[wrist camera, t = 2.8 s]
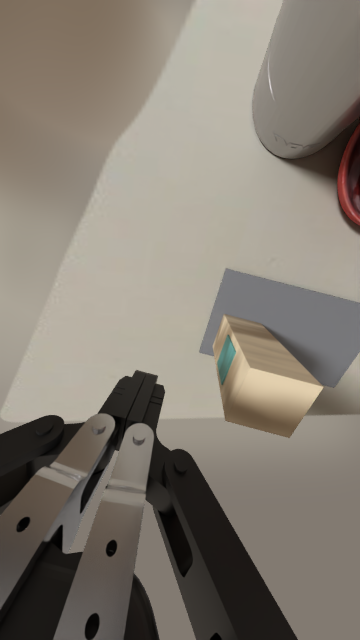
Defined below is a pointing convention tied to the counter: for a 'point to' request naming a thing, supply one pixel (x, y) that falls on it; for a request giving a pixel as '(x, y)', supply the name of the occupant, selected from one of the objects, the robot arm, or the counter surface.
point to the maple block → (261, 378)
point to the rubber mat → (292, 322)
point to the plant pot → (350, 178)
